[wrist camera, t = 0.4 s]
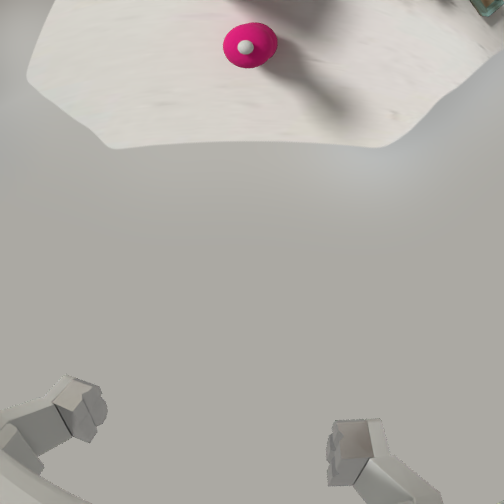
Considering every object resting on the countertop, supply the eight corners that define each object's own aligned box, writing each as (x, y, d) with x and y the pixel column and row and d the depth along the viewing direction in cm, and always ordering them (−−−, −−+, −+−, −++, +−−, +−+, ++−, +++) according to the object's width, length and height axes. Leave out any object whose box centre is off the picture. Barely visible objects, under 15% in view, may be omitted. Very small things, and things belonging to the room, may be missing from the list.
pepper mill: (285, 45, 41) (292, 53, 27) (252, 68, 45) (240, 89, 30) (259, 15, 38) (250, 6, 23) (225, 39, 41) (198, 45, 26)
